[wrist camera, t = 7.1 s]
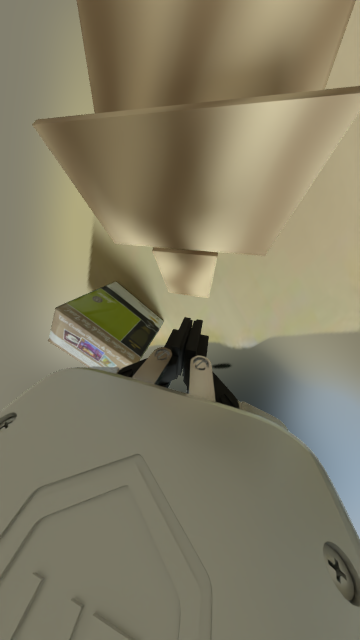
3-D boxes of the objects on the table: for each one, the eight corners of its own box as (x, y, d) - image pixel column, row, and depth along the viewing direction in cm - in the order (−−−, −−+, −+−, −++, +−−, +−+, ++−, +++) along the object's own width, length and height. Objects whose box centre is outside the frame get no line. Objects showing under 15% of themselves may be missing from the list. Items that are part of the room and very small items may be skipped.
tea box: (102, 307, 37) (44, 340, 24) (117, 280, 32) (51, 304, 19) (146, 341, 39) (113, 387, 27) (165, 321, 34) (136, 366, 22)
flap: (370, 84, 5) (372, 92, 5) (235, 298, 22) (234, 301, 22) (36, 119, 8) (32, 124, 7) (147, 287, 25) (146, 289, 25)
